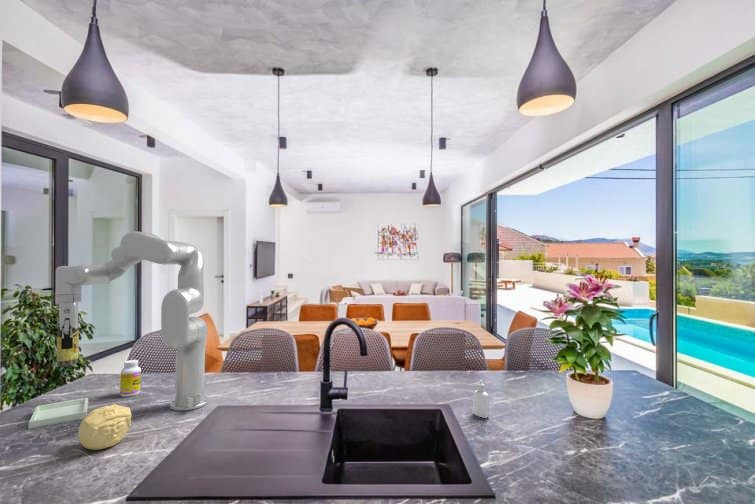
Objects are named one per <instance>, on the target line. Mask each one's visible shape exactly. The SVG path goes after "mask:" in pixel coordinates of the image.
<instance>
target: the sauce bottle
mask: <svg viewBox="0 0 755 504" xmlns="http://www.w3.org/2000/svg"><path fill="white" fill-rule="evenodd" d="M69 323H70V321H69ZM62 328H63V326H62ZM69 329H71V328H69ZM62 330H63V329H62ZM62 330H60V326H59V327H58V329H57V334H56V335H57V337H56V366H57V367H66V366H73V365H76V364H77V363H78V362H79V347H80V345H79V343H80V341H79V337H80V336H79V334H80V333H79V331H80V330H79V327H78V328H77V329H75V328H72V337H73V348H71V349H61V338H62Z"/></svg>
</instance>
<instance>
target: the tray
mask: <svg viewBox="0 0 755 504" xmlns="http://www.w3.org/2000/svg"><path fill="white" fill-rule="evenodd" d="M88 405H89V397H83V398H77V399H72V400H65V401H60V402H53V403H47V404H42V405H36V407H35V409H34V411H33V413H32V415H31V418H30V419H29V421H28V430H34V429H39V428H43V427H48V426H53V425H54V426H55V425H60V424H63V423H65V424H66V423H70V422H75V421H80V420H81V421H82V420H83V419H84V418H85V416H86V415H88V408H89V406H88Z"/></svg>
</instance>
